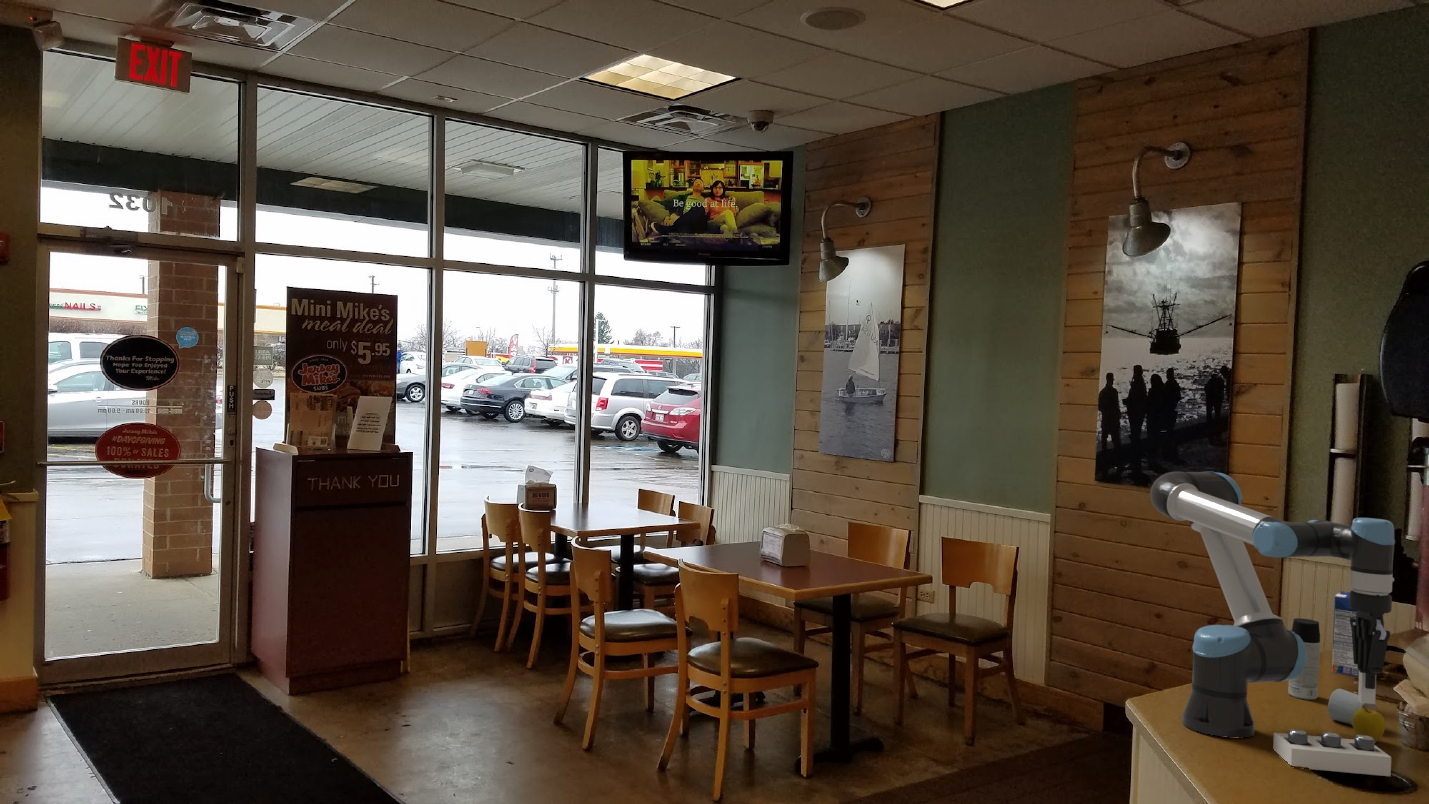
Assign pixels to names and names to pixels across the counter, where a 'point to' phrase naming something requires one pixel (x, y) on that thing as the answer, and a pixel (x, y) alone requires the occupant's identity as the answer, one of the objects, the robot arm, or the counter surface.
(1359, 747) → the knob
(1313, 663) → the spray can
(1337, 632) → the beverage box
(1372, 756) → the console
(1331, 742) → the knob mid
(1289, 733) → the knob
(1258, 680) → the robot arm
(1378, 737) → the apple
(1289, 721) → the counter surface
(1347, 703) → the ceramic mug
